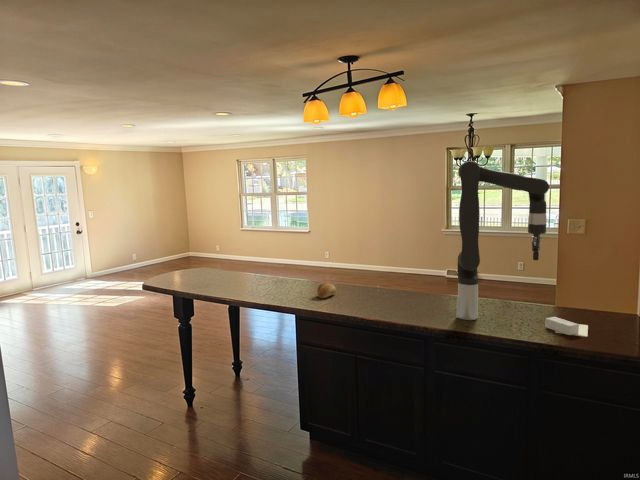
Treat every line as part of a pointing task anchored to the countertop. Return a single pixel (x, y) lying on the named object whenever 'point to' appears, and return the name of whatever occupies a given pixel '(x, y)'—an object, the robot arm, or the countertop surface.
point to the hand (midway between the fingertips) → (535, 260)
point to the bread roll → (326, 290)
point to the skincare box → (562, 325)
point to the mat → (580, 331)
